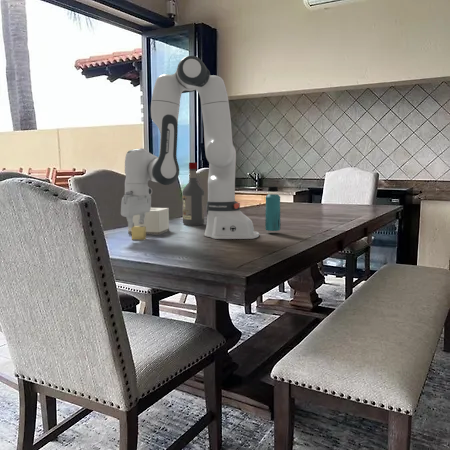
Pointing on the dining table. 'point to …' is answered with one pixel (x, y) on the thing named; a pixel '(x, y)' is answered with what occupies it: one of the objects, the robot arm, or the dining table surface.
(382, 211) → the dining table surface
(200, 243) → the dining table surface
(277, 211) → the beverage bottle
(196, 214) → the liquor
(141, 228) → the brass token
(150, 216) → the money box
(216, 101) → the robot arm
